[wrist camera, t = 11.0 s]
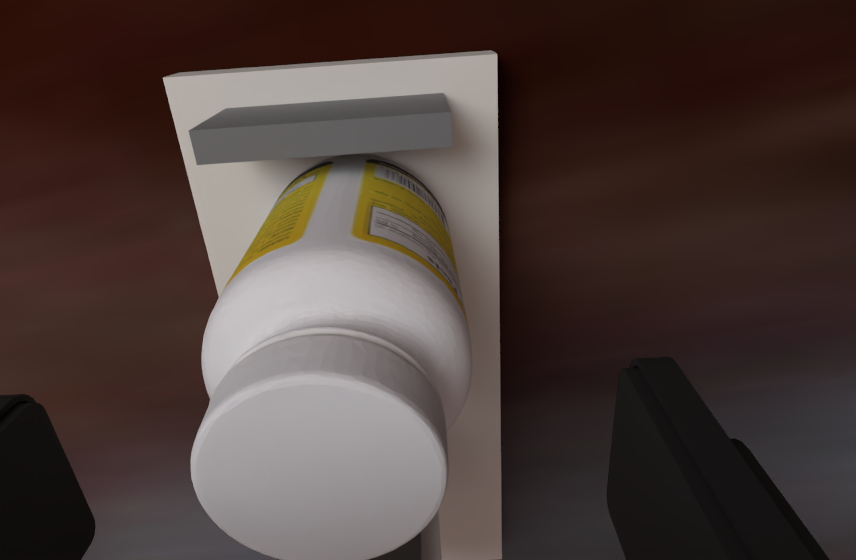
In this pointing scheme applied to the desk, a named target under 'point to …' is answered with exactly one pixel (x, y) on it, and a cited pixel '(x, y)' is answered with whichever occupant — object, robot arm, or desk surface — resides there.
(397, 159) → the white rack stand
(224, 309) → the supplement bottle
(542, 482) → the desk surface
